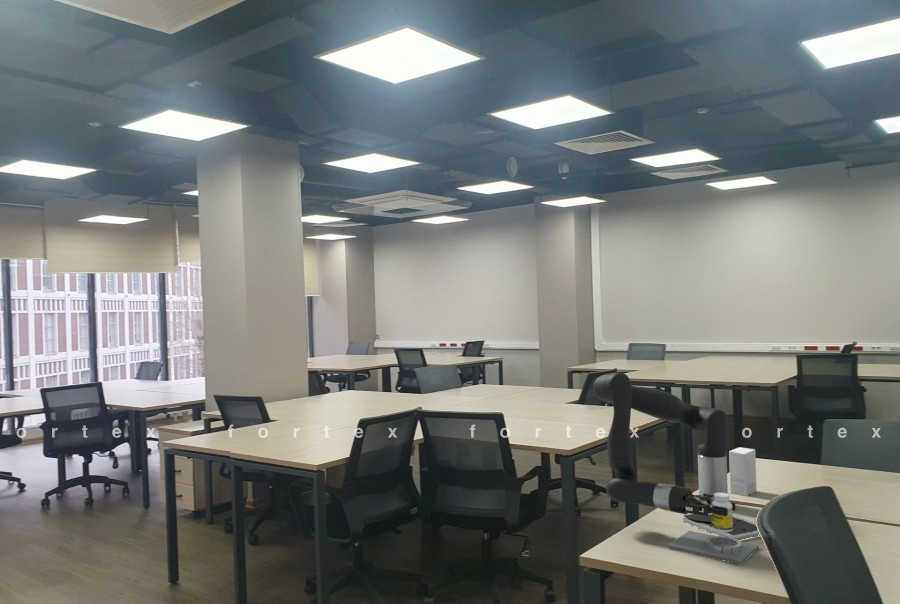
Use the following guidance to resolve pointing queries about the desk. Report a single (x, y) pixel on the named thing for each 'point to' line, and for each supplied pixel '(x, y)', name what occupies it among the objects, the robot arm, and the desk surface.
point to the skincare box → (742, 471)
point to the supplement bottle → (720, 521)
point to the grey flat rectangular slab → (697, 545)
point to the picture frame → (739, 532)
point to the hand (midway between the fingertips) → (731, 509)
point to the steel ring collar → (724, 549)
